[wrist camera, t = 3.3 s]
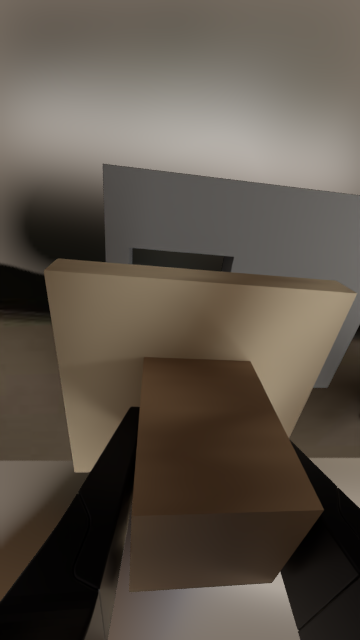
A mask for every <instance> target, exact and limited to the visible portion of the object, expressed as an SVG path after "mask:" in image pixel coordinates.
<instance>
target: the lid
mask: <svg viewBox="0 0 360 640" xmlns="http://www.w3.org/2000/svg"><path fill="white" fill-rule="evenodd" d="M44 275H45V281H46V288H47V295H48V301H49V308H50V314H51V321H52V327H53V334H54V340H55V347H56V353H57V360H58V366H59V373H60V379H61V386H62V392H63V399H64V405H65V412H66V418H67V425H68V432H69V438H70V445H71V451H72V458H73V464H74V471H75V472H91V470H92V468H93V467H94V465H95V463H96V462H97V460H98V459H99V457H100V455H101V454H102V452H103V450H104V449H105V447H106V445H107V444H108V442H109V440H110V439H111V437H112V436H113V434H114V432H115V431H116V429H117V427H118V426H119V424H120V422H121V421H122V419H123V417H124V416H125V414H126V413H127V411H128V409H129V408H130V407H132V406H138V407H140V412H139V425H138V438H137V451H136V464H135V477H134V490H133V503H132V517H131V550H130V583H129V592H139V591H155V590H169V589H186V588H201V587H216V586H232V585H245V584H246V585H247V584H262V583H272V582H273V581H274V579H275V578H276V576H277V575H278V573H279V572H280V571H281V569H282V568H283V567H284V565H285V564H286V562H287V561H288V560H289V558H290V557H291V556H292V554H293V553H294V551H295V550H296V549H297V547H298V546H299V544H300V543H301V542H302V540H303V539H304V537H305V536H306V535H307V533H308V532H309V530H310V529H311V528H312V526H313V525H314V524H315V522H316V521H317V519H318V518H319V517H320V515H321V514H322V512H323V511H324V509H323V507H322V505H321V503H320V501H319V499H318V497H317V495H316V492H315V490H314V488H313V486H312V484H311V482H310V480H309V478H308V476H307V474H306V472H305V470H304V468H303V466H302V464H301V462H300V460H299V458H298V456H297V454H296V452H295V450H294V448H293V446H292V444H291V442H290V440H289V437H290V435H291V433H292V431H293V429H294V427H295V424H296V422H297V420H298V418H299V416H300V414H301V412H302V410H303V408H304V405H305V403H306V401H307V399H308V397H309V395H310V393H311V391H312V388H313V386H314V384H315V382H316V380H317V378H318V376H319V374H320V371H321V369H322V367H323V365H324V363H325V361H326V359H327V357H328V354H329V352H330V350H331V348H332V346H333V344H334V342H335V340H336V338H337V335H338V333H339V331H340V329H341V327H342V325H343V323H344V321H345V318H346V316H347V314H348V312H349V310H350V308H351V306H352V304H353V301H354V299H355V297H356V295H357V293H356V292H354V291H352V290H351V289H349V288H347V287H346V286H344V285H342V284H341V283H339V282H337V281H334V280H321V279H309V278H296V277H283V276H271V275H258V274H246V273H233V272H220V271H207V270H195V269H183V268H170V267H157V266H144V265H132V264H120V263H107V262H93V261H81V260H69V259H57V260H55V261H54V262H53V263H52V264H51V265H49V266H48V267H47V268H46V269H45V270H44Z"/></svg>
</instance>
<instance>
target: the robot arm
mask: <svg viewBox="0 0 360 640" xmlns="http://www.w3.org/2000/svg"><path fill="white" fill-rule="evenodd" d="M139 412H140V407H138V406H132V407H130V408H129V409H128V411H127V413H126V414H125V416H124V417H123V419H122V421H121V422H120V424H119V426H118V427H117V429H116V431H115V432H114V434H113V436H112V437H111V439H110V440H109V442H108V444H107V445H106V447H105V449H104V450H103V452H102V454H101V455H100V457H99V459H98V460H97V462H96V463H95V465H94V467H93V468H92V470H91V472H90V473H89V475H88V477H87V478H86V480H85V482H84V483H83V485H82V486H81V488H80V490H79V492H78V493H79V494H76V496H75V498H74V499H73V501H72V503H71V504H70V506H69V507H68V509H67V511H66V512H65V514H64V515H63V517H62V518H61V520H60V521H59V523H58V525H57V526H56V527H55V529H54V530H53V531H52V533H51V534H50V536H49V537H48V539H47V540H46V541H45V543H44V544H43V545H42V547H41V548H40V549H39V551H38V552H37V553H36V555H35V556H34V557H33V559H32V560H31V562H30V563H29V564H28V566H27V567H26V568H25V570H24V571H23V572H22V573H21V575H20V576H19V577H18V579H17V580H16V582H15V583H14V584H13V586H12V587H11V588H10V590H9V591H8V592H7V594H6V595H5V596H4V598H3V599H2V600H1V601H0V640H108V634H109V628H110V623H111V617H112V612H113V606H114V600H115V595H116V589H117V584H118V578H119V572H120V567H121V561H122V556H123V550H124V545H125V539H126V533H127V528H128V522H129V517H130V511H131V505H132V500H133V490H134V477H135V464H136V451H137V438H138V425H139ZM289 440H290V439H289ZM290 442H291V444H292V446H293V448H294V450H295V452H296V454H297V456H298V458H299V460H300V462H301V464H302V466H303V468H304V470H305V472H306V474H307V476H308V478H309V480H310V482H311V484H312V486H313V488H314V490H315V492H316V495H317V497H318V499H319V501H320V503H321V505H322V507H323V509H324V511H323V512H322V514H321V515H320V517H319V518H318V519H317V521H316V522H315V524H314V525H313V526H312V528H311V529H310V530H309V532H308V533H307V535H306V536H305V537H304V539H303V540H302V542H301V543H300V544H299V546H298V547H297V549H296V550H295V551H294V553H293V554H292V556H291V557H290V558H289V560H288V561H287V562H286V564H285V565H284V567H283V568H282V569H281V571H280V572H281V575H282V578H283V582H284V585H285V588H286V592H287V595H288V598H289V602H290V606H291V609H292V612H293V616H294V619H295V622H296V626H297V629H298V630H299V631H298V633H299V636H300V640H360V508H359V507H358V506H357V505H356V504H355V503H354V502H353V501H351V500H350V499H349V498H348V497H347V496H346V495H345V494H344V493H343V492H342V491H341V490H340V489H339V488H337V486H336V485H335V484H334V483H333V482H332V481H331V480H330V479H329V478H328V477H327V476H326V475H325V474H324V473H323V472H322V471H321V470H320V469H319V468H318V467H317V466H316V465H315V464H314V463H313V462H312V461H311V460H310V459H309V458H308V457H307V456H306V455H305V454H304V453H303V452H302V451H301V450H300V449H299V448H298V447H297V446H296V445H295V444H294V443H293V442H292V441H291V440H290Z"/></svg>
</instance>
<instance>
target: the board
mask: <svg viewBox="0 0 360 640" xmlns="http://www.w3.org/2000/svg"><path fill="white" fill-rule="evenodd" d="M103 186H104V187H103V188H104V216H105V247H106V248H105V250H106V262H107V263H120V264H132V248H140V249H151V250H162V251H163V250H164V251H174V252H186V253H198V254H208V255H221V256H224V260H223V265H222V270H221V272H233V273H246V274H258V275H271V276H283V277H296V278H309V279H321V280H334V281H337V282H339V283H341V284H342V285H344V286H346V287H347V288H349V289H351V290H352V291H354V292H356V293H357V295H356V297H355V299H354V301H353V304H352V306H351V308H350V310H349V312H348V314H347V316H346V318H345V321H344V323H343V325H342V327H341V329H340V331H339V333H338V335H337V338H336V340H335V342H334V344H333V346H332V348H331V350H330V352H329V354H328V357H327V359H326V361H325V363H324V365H323V367H322V369H321V371H320V374H319V376H318V378H317V380H316V382H315V384H314V386H313V388H328V386H329V384H330V382H331V380H332V378H333V376H334V374H335V372H336V370H337V368H338V366H339V364H340V362H341V360H342V358H343V356H344V354H345V352H346V350H347V348H348V346H349V344H350V342H351V340H352V338H353V336H354V334H355V333H356V331H357V329H358V327H359V325H360V195H353V194H345V193H336V192H329V191H320V190H312V189H303V188H296V187H287V186H280V185H271V184H263V183H254V182H247V181H238V180H231V179H223V178H214V177H206V176H198V175H190V174H182V173H174V172H165V171H157V170H149V169H141V168H133V167H125V166H116V165H108V164H103Z"/></svg>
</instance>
